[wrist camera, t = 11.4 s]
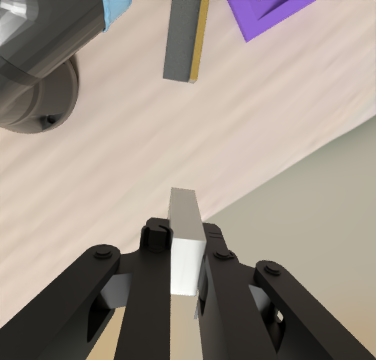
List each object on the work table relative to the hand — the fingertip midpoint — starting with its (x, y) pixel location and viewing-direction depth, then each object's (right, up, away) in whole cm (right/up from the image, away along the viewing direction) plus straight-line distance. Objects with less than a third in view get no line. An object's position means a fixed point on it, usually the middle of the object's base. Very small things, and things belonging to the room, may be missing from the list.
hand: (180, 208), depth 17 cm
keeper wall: (+1, +29, +22) cm, 37 cm away
